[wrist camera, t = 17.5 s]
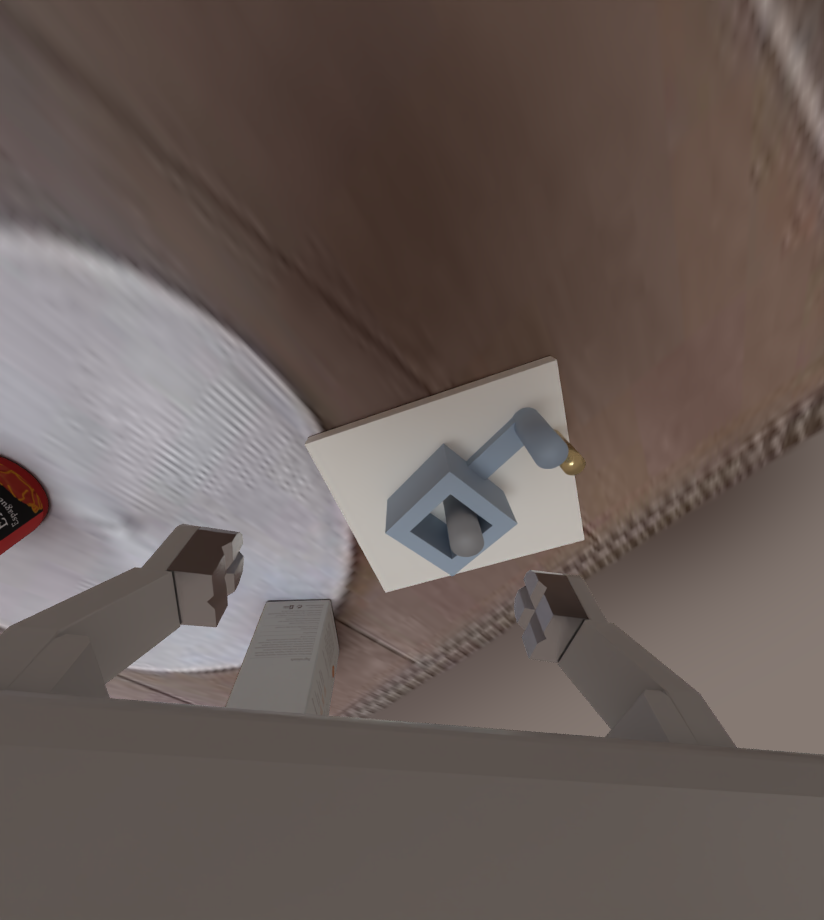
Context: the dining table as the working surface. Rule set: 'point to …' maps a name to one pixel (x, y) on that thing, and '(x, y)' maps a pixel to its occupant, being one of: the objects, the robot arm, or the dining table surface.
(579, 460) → the dowel
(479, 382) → the post board
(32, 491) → the canned food
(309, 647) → the small box
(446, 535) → the grey socket with handle
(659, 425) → the dining table surface
